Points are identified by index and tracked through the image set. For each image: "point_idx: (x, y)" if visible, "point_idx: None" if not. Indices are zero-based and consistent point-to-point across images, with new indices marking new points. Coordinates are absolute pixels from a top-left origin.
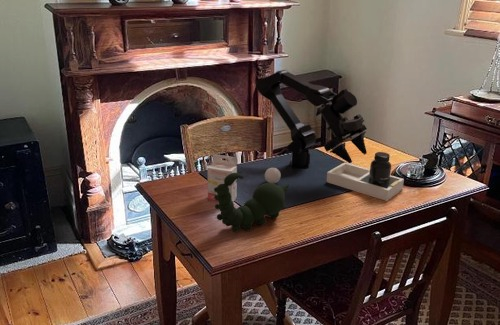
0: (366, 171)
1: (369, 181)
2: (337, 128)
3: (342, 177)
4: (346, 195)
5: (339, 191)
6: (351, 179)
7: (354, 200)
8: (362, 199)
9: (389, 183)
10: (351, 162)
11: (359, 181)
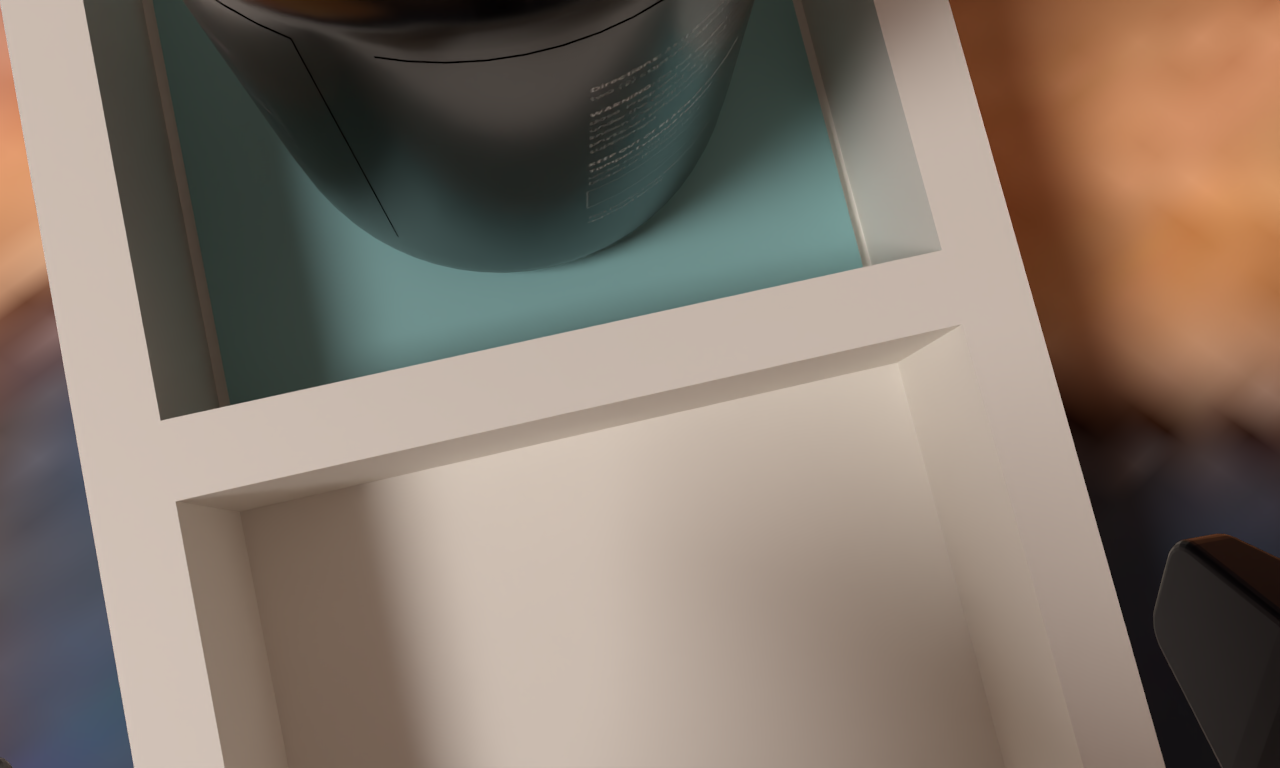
0: (215, 622)
1: (718, 105)
2: None
3: (1129, 685)
4: (1228, 304)
5: (1221, 522)
6: (1065, 414)
7: (1248, 66)
8: (1090, 3)
9: (141, 18)
10: (1206, 541)
11: (984, 206)
